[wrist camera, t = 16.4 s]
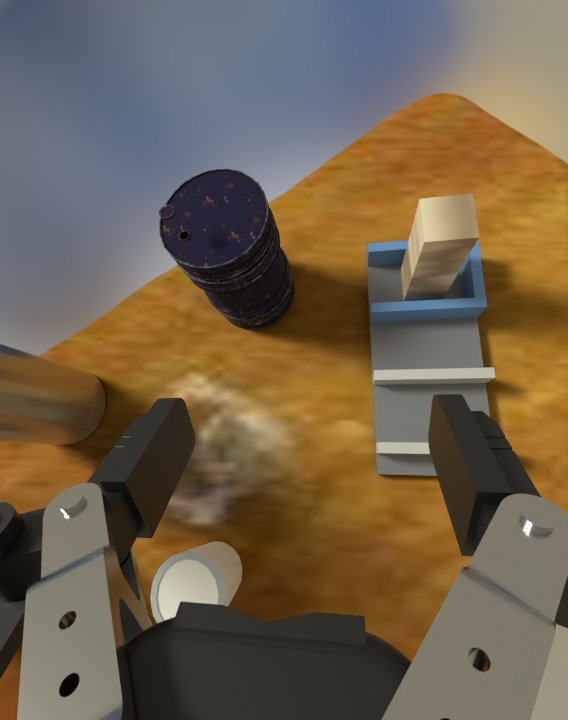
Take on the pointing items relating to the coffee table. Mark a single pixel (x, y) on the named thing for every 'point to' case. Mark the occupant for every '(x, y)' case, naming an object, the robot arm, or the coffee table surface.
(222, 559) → the beige cylinder
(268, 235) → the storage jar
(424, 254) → the peg
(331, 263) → the coffee table surface
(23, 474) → the coffee table surface
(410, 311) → the grey slotted base
